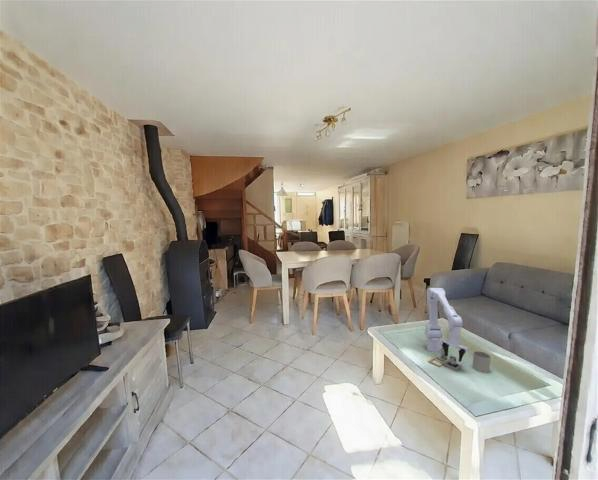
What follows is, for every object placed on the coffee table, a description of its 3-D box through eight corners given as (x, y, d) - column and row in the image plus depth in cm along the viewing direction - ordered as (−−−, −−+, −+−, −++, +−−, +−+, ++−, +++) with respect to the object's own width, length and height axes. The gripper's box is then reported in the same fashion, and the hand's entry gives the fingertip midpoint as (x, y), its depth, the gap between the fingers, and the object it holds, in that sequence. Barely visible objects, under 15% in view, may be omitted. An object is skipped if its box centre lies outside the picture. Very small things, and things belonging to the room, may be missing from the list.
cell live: (450, 364, 160) (451, 354, 160) (456, 367, 158) (457, 357, 157) (448, 366, 158) (449, 356, 158) (454, 369, 156) (455, 358, 155)
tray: (435, 359, 169) (435, 356, 169) (446, 363, 164) (446, 361, 163) (427, 363, 163) (428, 361, 163) (439, 368, 157) (439, 366, 157)
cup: (485, 368, 160) (487, 352, 159) (491, 375, 152) (493, 359, 151) (470, 366, 162) (471, 350, 161) (475, 373, 154) (476, 356, 153)
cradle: (450, 362, 165) (451, 358, 165) (463, 367, 159) (463, 363, 159) (443, 367, 159) (444, 363, 159) (456, 373, 153) (456, 368, 153)
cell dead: (442, 356, 171) (442, 346, 171) (447, 358, 168) (448, 349, 168) (439, 358, 169) (440, 348, 169) (445, 360, 166) (446, 350, 166)
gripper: (439, 333, 160) (437, 355, 161) (465, 342, 149) (463, 365, 150) (444, 331, 165) (442, 352, 165) (470, 339, 153) (468, 361, 154)
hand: (453, 358), depth 158 cm, fingers open, 7 cm apart
